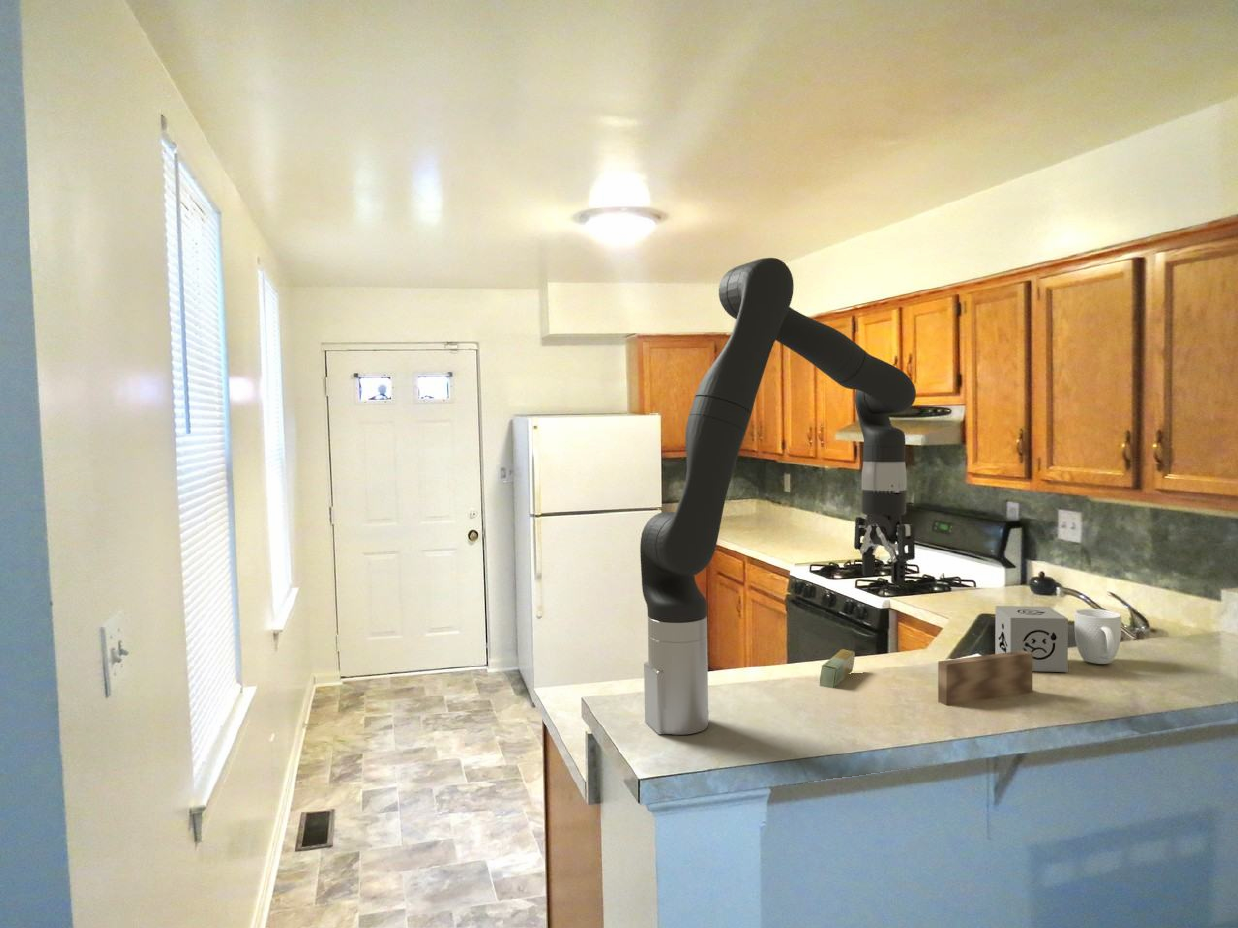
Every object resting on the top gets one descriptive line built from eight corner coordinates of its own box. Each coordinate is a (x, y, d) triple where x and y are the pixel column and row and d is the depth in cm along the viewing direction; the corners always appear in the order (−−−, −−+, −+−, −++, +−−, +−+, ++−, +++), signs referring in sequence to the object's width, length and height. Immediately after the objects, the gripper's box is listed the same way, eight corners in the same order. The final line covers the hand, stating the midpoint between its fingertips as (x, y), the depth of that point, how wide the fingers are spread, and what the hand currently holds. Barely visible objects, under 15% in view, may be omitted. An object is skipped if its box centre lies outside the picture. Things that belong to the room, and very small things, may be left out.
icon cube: (1049, 656, 167) (1049, 606, 166) (1067, 671, 157) (1067, 618, 156) (995, 655, 168) (995, 605, 168) (1010, 670, 158) (1010, 617, 158)
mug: (1134, 671, 156) (1135, 621, 156) (1088, 670, 158) (1089, 620, 157) (1110, 655, 167) (1110, 608, 166) (1067, 654, 168) (1068, 608, 168)
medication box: (833, 690, 149) (835, 668, 149) (818, 686, 151) (820, 665, 150) (853, 671, 160) (855, 650, 159) (839, 667, 161) (841, 647, 161)
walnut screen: (946, 706, 140) (946, 664, 140) (938, 702, 142) (938, 661, 142) (1032, 693, 146) (1032, 653, 145) (1023, 689, 148) (1023, 650, 147)
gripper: (842, 485, 154) (841, 574, 154) (890, 491, 140) (889, 588, 141) (878, 484, 156) (877, 571, 157) (928, 489, 142) (927, 585, 143)
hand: (882, 579), depth 149 cm, fingers open, 8 cm apart
